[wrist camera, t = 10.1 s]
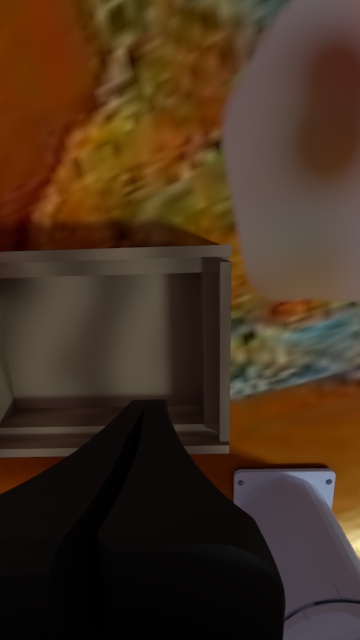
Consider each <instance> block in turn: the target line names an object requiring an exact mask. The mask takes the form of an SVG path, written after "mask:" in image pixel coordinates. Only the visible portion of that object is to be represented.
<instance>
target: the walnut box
mask: <svg viewBox="0 0 360 640" xmlns="http://www.w3.org/2000/svg"><path fill="white" fill-rule="evenodd" d="M231 255H232V245H204V246H172V247H140V248H108V249H75V250H43V251H11V252H0V457H53V456H69V455H70V454H72V453H73V452H75V451H76V450H77V449H79V448H80V447H81V446H83V445H84V444H85V443H87V442H88V441H89V440H90V439H91V438H93V437H94V436H95V435H96V434H97V433H98V432H100V431H101V430H102V429H103V428H104V427H105V426H106V425H107V424H109V423H110V422H111V421H112V420H113V419H114V418H115V417H116V416H117V415H118V414H119V413H120V412H121V411H122V410H123V409H124V408H125V407H126V406H127V405H128V404H129V403H130V402H131V401H132V400H153V399H165V400H166V401H167V402H168V412H169V416H170V419H171V421H172V424H173V426H174V428H175V431H176V433H177V435H178V437H179V439H180V441H181V442H182V444H183V446H184V448H185V449H186V451H187V452H188V454H229V442H228V441H229V421H230V338H231V262H230V261H229V256H231Z"/></svg>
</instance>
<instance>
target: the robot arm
mask: <svg viewBox="0 0 360 640" xmlns="http://www.w3.org/2000/svg"><path fill="white" fill-rule="evenodd" d="M327 479H329V480H328V481H326V480H327ZM240 480H241V481H242V482H238V481H240ZM334 485H335V473H334V471H333V470H332V469H330V468H299V469H240V470H237V471H235V473H234V492H233V502H232V501H231V500H229V499H228V498H227V497H226V496H225V495H224V494H223V493H222V492H221V491H219V490H218V489H217V488H216V486H215V485H214V484H213V483H212V482H211V481H210V480H209V479H208V478H207V477H206V476H205V475H204V473H203V472H202V471H201V470H200V469H199V467H198V466H197V465H196V464H195V462H194V461H193V460H192V458H191V457H190V455H189V454H188V452H187V451H186V449H185V448H184V446H183V444H182V442H181V441H180V439H179V437H178V435H177V433H176V431H175V428H174V426H173V424H172V421H171V419H170V416H169V412H168V402H167V401H166V400H165V399H153V400H132V401H131V402H130V403H129V404H128V405H127V406H126V407H125V408H124V409H123V410H122V411H121V412H120V413H119V414H118V415H117V416H116V417H115V418H114V419H113V420H112V421H111V422H110V423H109V424H107V425H106V426H105V427H104V428H103V429H102V430H101V431H100V432H98V433H97V434H96V435H95V436H94V437H93V438H91V439H90V440H89V441H88V442H87V443H85V444H84V445H83V446H81V447H80V448H79V449H77V450H76V451H75V452H73V453H72V454H70V455H69V456H67V457H66V458H65V459H63V460H62V461H60V462H58V463H57V464H55V465H53V466H52V467H50V468H48V469H47V470H45V471H43V472H42V473H40V474H38V475H37V476H35V477H33V478H31V479H30V480H28V481H26V482H24V483H22V484H20V485H18V486H16V487H14V488H12V489H10V490H8V491H6V492H4V493H2V494H0V640H360V560H359V558H358V556H357V554H356V553H355V551H354V549H353V547H352V546H351V544H350V542H349V540H348V539H347V537H346V535H345V533H344V531H343V530H342V528H341V526H340V524H339V523H338V521H337V519H336V517H335V516H334V514H333V512H332V502H333V494H334Z"/></svg>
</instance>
